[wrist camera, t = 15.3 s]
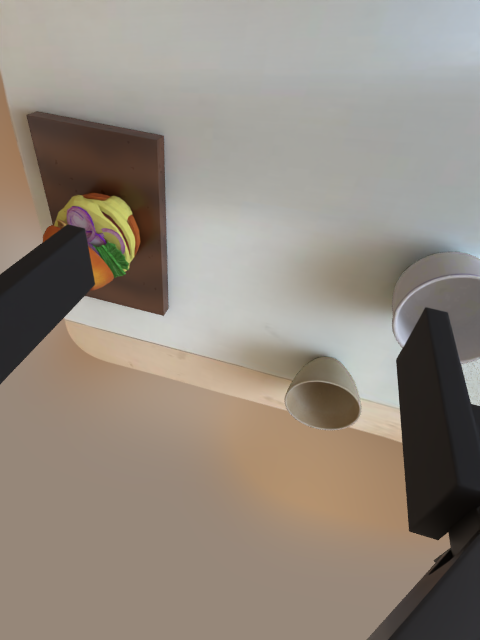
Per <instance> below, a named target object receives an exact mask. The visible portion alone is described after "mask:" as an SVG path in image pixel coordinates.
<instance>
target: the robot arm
mask: <svg viewBox="0 0 480 640" xmlns="http://www.w3.org/2000/svg"><path fill="white" fill-rule="evenodd" d="M94 285H95V280H94V275H93V269H92V264H91V258H90V253H89V248H88V242H87V237H86V231H85V228H82V227H77V226H73V225H69V224H67V225H66V226H64V227H63V228H62V229H60V230H59V231H58V232H56V233H55V234H54V235H52V236H51V237H50V238H48V239H47V240H46V241H44V242H43V243H42V244H40V245H39V246H38V247H36V248H35V249H34V250H32V251H31V252H30V253H28V254H27V255H26V256H24V257H23V258H22V259H20V260H19V261H18V262H16V263H15V264H14V265H12V266H11V267H10V268H8V269H7V270H6V271H4V272H3V273H2V274H1V275H0V384H1V383H2V382H3V381H4V380H5V379H6V378H7V376H8V375H9V374H10V373H11V372H12V371H13V370H14V369H15V368H16V367H17V366H18V365H19V364H20V363H21V362H22V361H23V360H24V359H25V358H26V357H27V356H28V355H29V353H30V352H31V351H32V350H33V349H34V348H35V347H36V346H37V345H38V344H39V343H40V342H41V341H42V340H43V339H44V338H45V337H46V336H47V334H48V333H50V331H51V330H52V329H53V328H54V327H55V326H56V325H57V324H58V323H59V322H60V321H61V320H62V319H63V318H64V317H65V316H66V315H67V314H68V313H69V312H70V311H71V310H72V308H73V307H74V306H75V305H76V304H77V303H78V302H79V301H80V300H81V299H82V298H83V297H84V296H85V295H86V294H87V293H88V292H89V291H90V290H91V289H92V288H93V286H94ZM396 363H397V376H398V389H399V402H400V416H401V429H402V442H403V456H404V468H405V482H406V494H407V508H408V522H409V531H410V532H413V533H416V534H420V535H423V536H426V537H430V538H433V539H436V540H439V539H440V538H441V537H443V536H444V535H445V534H446V533H447V532H449V538H450V545H451V548H450V549H448V550H447V551H446V552H444V553H443V554H442V555H440V556H439V557H438V558H436V559H435V560H434V562H435V564H434V565H433V566H432V568H431V569H430V570H429V571H428V572H427V573H426V574H425V575H424V577H423V578H422V579H421V580H420V581H419V582H418V583H417V584H416V585H415V587H414V588H413V589H412V590H411V591H410V592H409V593H408V594H407V595H406V597H405V598H404V599H403V600H402V601H401V602H400V603H399V604H398V605H397V607H396V608H395V609H394V610H393V611H392V612H391V613H390V614H389V615H388V617H387V618H386V619H385V620H384V621H383V622H382V623H381V624H380V625H379V627H378V628H377V629H376V630H375V631H374V632H373V633H372V634H371V635H370V637H369V638H368V639H367V640H480V406H477V405H473V404H471V403H470V399H469V395H468V391H467V387H466V383H465V379H464V375H463V371H462V367H461V363H460V359H459V355H458V351H457V347H456V343H455V339H454V335H453V331H452V327H451V323H450V319H449V315H448V312H445V311H440V310H436V309H432V308H427V307H425V309H424V311H423V312H422V314H421V316H420V318H419V320H418V321H417V323H416V325H415V327H414V329H413V330H412V332H411V334H410V336H409V338H408V340H407V341H406V343H405V345H404V347H403V349H402V350H401V352H400V354H399V356H398V358H397V360H396Z"/></svg>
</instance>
